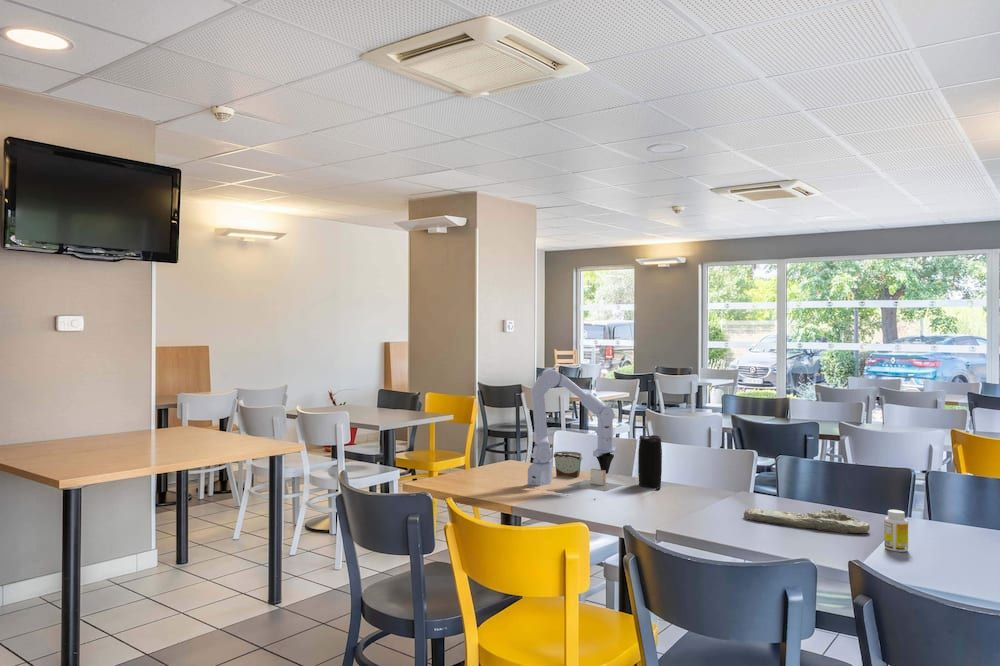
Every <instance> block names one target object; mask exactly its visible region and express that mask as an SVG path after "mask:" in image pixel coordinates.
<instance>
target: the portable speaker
mask: <svg viewBox="0 0 1000 666" xmlns="http://www.w3.org/2000/svg"><path fill="white" fill-rule="evenodd" d="M638 438H639V442H638V452H637V453H638V456H637V457H638V463H637V464H638V465H637V466H638V469H637V471H638V474H637V476H638V486H639V487H641V488H647V489H654V490H655V491H656V490H657V492H659V491H661V486H662V471H663V470H662V468H663V464H662V463H663V450H662V449H663V448H662V447H663V446H662V439H661V436H660V435H656V434H655V435H653V434H652V435H645V436H644V435H639V437H638Z"/></svg>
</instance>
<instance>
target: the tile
mask: <svg viewBox="0 0 1000 666" xmlns="http://www.w3.org/2000/svg"><path fill="white" fill-rule="evenodd" d="M606 478H607V476H606V470H601V468H600V469H599V468H591V469H590V480H591V484H596V485H602V486H604V485H606V483H607V482H606V481H607V479H606Z"/></svg>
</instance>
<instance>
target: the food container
mask: <svg viewBox="0 0 1000 666" xmlns="http://www.w3.org/2000/svg"><path fill="white" fill-rule="evenodd" d="M553 458H554V464H555V476H556V477H560V476H564V477H565V476H566V477H571V478H579V477H580V473H581V462H582V461H583V460H584V458H583V455H582V453H580V452H577V451H566V450H565V451H555V452H554V453H553Z"/></svg>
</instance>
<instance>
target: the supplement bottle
mask: <svg viewBox="0 0 1000 666" xmlns="http://www.w3.org/2000/svg"><path fill="white" fill-rule="evenodd" d="M883 531H884V536H883V537H884V545H883V546H884V548H885V549H886V550H889V551H892V552H897V553H905V552H908V550H909V521H908V519H907V518H906V515H905V511H903V510H899V509H888V510H887V516H885V517H884V530H883Z"/></svg>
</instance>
